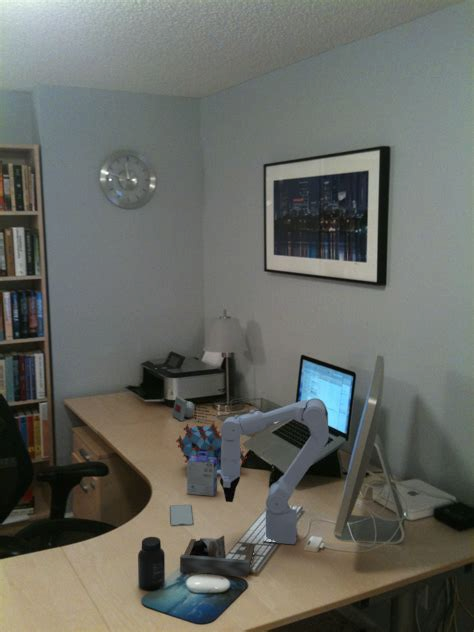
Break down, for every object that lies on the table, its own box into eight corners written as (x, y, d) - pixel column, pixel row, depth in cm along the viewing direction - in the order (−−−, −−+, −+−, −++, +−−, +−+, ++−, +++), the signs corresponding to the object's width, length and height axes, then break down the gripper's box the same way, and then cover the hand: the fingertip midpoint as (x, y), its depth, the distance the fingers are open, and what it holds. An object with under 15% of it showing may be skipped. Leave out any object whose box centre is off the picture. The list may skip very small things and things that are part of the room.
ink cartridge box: (217, 490, 228) (218, 451, 226) (214, 496, 223) (214, 456, 221) (190, 488, 230) (190, 449, 228) (186, 494, 225) (186, 454, 223)
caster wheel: (201, 554, 189) (233, 555, 185) (184, 564, 178) (218, 566, 175) (200, 530, 189) (232, 531, 186) (183, 539, 179) (216, 540, 175)
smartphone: (191, 504, 216) (194, 524, 201) (191, 506, 216) (194, 526, 201) (169, 505, 215) (170, 525, 200) (169, 507, 215) (170, 527, 200)
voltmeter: (166, 419, 312) (165, 399, 311) (178, 413, 322) (178, 394, 321) (214, 427, 301) (214, 406, 299) (225, 421, 311) (225, 401, 309)
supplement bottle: (165, 577, 171) (165, 534, 170) (163, 591, 164) (163, 547, 163) (140, 577, 171) (139, 534, 169) (136, 591, 164) (136, 547, 163)
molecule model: (245, 440, 256) (192, 410, 250) (253, 452, 242) (196, 421, 236) (224, 475, 256) (170, 446, 250) (230, 489, 242) (173, 459, 236)
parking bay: (254, 552, 185) (254, 538, 184) (248, 577, 172) (248, 562, 171) (191, 547, 187) (191, 534, 187) (180, 571, 174) (180, 557, 174)
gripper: (221, 448, 200) (220, 490, 202) (213, 465, 186) (212, 510, 188) (243, 450, 199) (242, 492, 201) (237, 467, 185) (236, 512, 187)
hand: (229, 501), depth 194 cm, fingers closed
